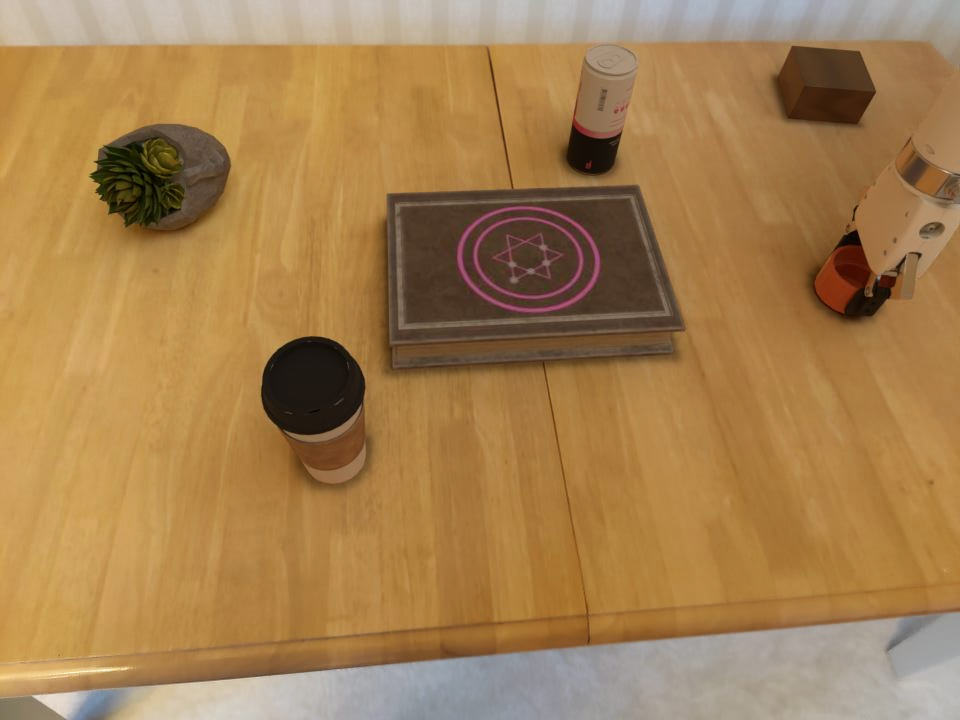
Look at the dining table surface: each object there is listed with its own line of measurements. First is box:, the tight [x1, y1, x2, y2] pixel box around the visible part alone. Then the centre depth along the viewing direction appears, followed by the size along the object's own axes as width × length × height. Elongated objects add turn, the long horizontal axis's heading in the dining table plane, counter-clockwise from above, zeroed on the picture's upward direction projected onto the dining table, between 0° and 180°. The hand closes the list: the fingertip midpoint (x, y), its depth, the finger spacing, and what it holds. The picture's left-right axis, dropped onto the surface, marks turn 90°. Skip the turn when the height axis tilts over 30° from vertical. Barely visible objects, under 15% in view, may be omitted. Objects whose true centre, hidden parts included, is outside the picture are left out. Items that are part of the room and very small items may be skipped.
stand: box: [777, 45, 877, 125], centre depth 98 cm, size 10×10×6 cm
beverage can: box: [566, 42, 639, 176], centre depth 84 cm, size 6×7×15 cm
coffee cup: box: [260, 335, 367, 485], centre depth 59 cm, size 8×8×15 cm
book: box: [386, 184, 687, 371], centre depth 76 cm, size 30×22×5 cm
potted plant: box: [88, 123, 232, 231], centre depth 77 cm, size 12×13×15 cm
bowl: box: [813, 245, 891, 315], centre depth 77 cm, size 7×7×4 cm
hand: (849, 285), depth 78 cm, fingers closed on bowl, 7 cm apart
